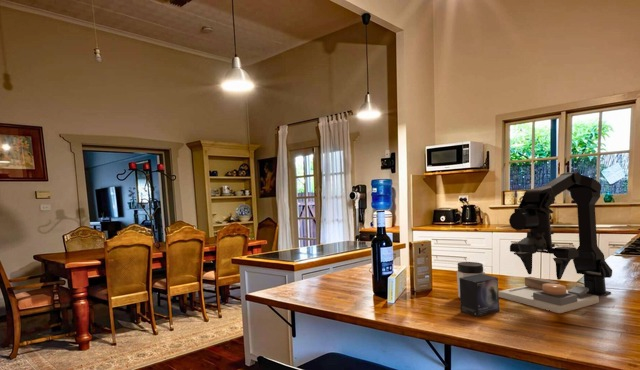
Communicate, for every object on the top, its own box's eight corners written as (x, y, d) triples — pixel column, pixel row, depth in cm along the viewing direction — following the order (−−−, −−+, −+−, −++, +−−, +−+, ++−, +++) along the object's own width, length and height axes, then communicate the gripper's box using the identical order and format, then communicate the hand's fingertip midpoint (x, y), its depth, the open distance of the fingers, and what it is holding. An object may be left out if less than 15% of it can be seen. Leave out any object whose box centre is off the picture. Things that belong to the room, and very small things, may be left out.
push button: (550, 288, 108) (550, 282, 108) (570, 293, 102) (570, 286, 102) (538, 291, 105) (538, 285, 105) (558, 295, 100) (557, 289, 100)
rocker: (577, 288, 110) (576, 285, 110) (589, 290, 107) (588, 287, 107) (568, 293, 108) (567, 290, 108) (580, 296, 105) (579, 293, 105)
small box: (478, 317, 97) (475, 281, 98) (459, 311, 103) (457, 277, 103) (501, 311, 102) (498, 276, 102) (482, 305, 108) (480, 273, 108)
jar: (475, 303, 110) (473, 267, 110) (454, 298, 117) (451, 264, 117) (490, 298, 115) (488, 263, 115) (469, 293, 121) (466, 260, 122)
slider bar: (530, 284, 121) (530, 276, 122) (559, 291, 112) (558, 282, 112) (525, 286, 120) (524, 277, 120) (554, 292, 111) (553, 283, 111)
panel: (536, 288, 124) (535, 278, 124) (599, 302, 106) (597, 289, 106) (499, 297, 116) (498, 285, 116) (559, 313, 98) (558, 299, 98)
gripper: (497, 228, 113) (500, 274, 112) (554, 231, 96) (558, 286, 95) (519, 226, 117) (522, 270, 117) (577, 229, 100) (582, 281, 100)
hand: (543, 276), depth 107 cm, fingers open, 9 cm apart
